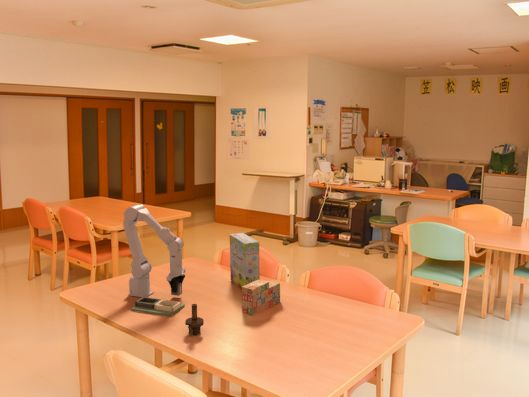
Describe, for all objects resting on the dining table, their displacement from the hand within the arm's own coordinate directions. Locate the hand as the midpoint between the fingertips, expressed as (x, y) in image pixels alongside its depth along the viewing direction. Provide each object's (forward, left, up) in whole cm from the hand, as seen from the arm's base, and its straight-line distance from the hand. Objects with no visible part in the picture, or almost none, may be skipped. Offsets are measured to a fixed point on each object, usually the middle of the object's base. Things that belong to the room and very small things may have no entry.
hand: (176, 291), depth 241 cm
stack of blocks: (+42, +3, -4) cm, 43 cm away
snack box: (+24, +27, -4) cm, 36 cm away
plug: (0, 0, -2) cm, 2 cm away
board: (-1, -15, -3) cm, 15 cm away
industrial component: (+27, -32, -4) cm, 42 cm away
